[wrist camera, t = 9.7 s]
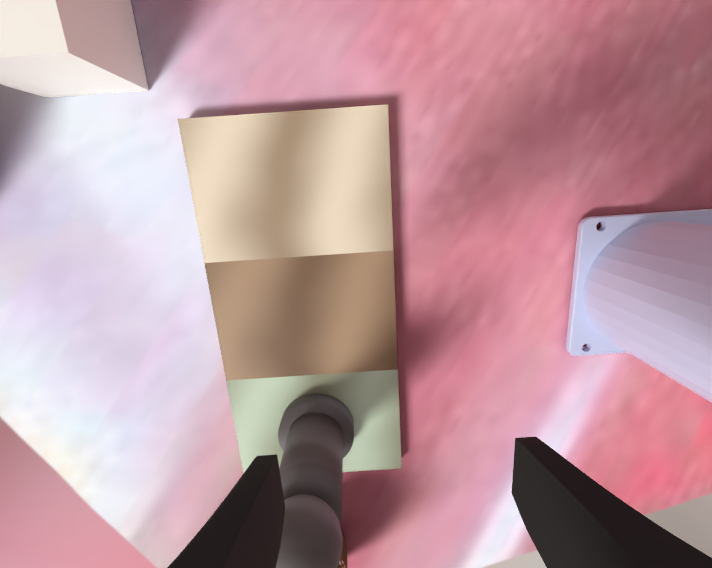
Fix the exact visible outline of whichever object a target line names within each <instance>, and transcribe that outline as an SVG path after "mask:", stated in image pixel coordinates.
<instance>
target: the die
mask: <svg viewBox="0 0 712 568" xmlns="http://www.w3.org/2000/svg"><path fill="white" fill-rule="evenodd" d="M0 84H1V85H4V86H8V87H11V88H15V89H18V90H22V91H25V92H28V93H32V94H35V95H39V96H42V97H46V98H51V97H66V96H80V95H94V94H108V93H123V92H137V91H149V89H148V84H147V79H146V74H145V69H144V64H143V59H142V54H141V49H140V45H139V40H138V35H137V30H136V25H135V20H134V15H133V10H132V5H131V0H0Z"/></svg>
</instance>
